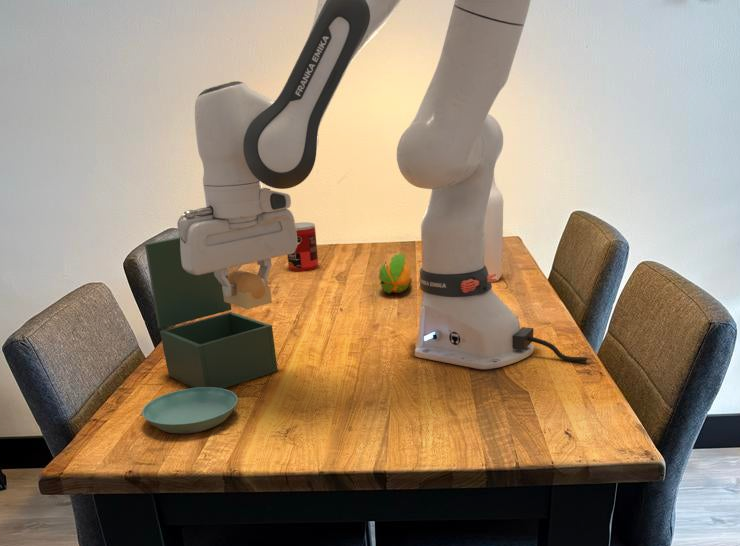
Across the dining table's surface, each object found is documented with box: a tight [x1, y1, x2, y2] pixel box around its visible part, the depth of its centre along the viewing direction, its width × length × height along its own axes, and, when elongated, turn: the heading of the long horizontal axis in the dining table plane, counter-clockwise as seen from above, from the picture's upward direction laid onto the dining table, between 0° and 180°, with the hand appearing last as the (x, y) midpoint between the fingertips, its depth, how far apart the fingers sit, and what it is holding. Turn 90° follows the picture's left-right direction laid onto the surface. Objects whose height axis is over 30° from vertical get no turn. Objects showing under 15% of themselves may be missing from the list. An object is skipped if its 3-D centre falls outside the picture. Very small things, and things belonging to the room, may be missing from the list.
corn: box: [378, 253, 412, 295], centre depth 183 cm, size 7×8×20 cm
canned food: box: [286, 221, 319, 272], centre depth 206 cm, size 8×8×11 cm
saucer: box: [141, 387, 239, 435], centre depth 121 cm, size 15×15×3 cm
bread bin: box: [159, 311, 278, 389], centre depth 138 cm, size 14×15×8 cm
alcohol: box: [484, 174, 504, 283], centre depth 179 cm, size 9×9×30 cm
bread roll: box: [222, 269, 273, 310], centre depth 127 cm, size 8×5×5 cm, turn 42°
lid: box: [144, 236, 232, 330], centre depth 137 cm, size 14×15×5 cm
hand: (246, 291), depth 128 cm, fingers closed on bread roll, 5 cm apart
